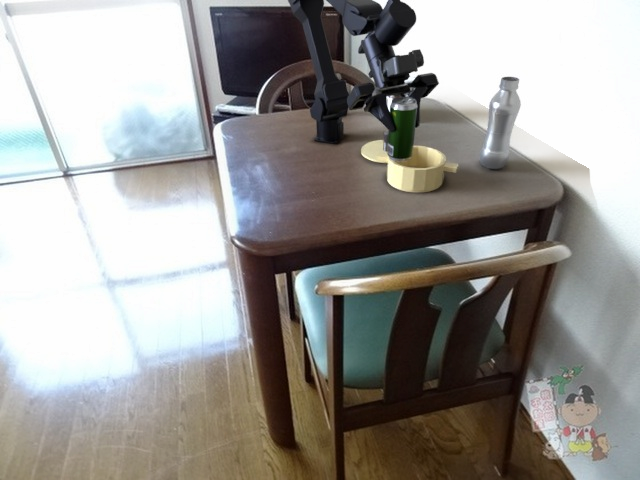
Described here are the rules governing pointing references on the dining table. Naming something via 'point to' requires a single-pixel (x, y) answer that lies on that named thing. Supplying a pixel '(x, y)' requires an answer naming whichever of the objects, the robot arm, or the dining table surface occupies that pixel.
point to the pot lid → (375, 148)
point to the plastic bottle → (500, 124)
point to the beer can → (402, 128)
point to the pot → (418, 170)
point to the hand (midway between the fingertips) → (405, 129)
